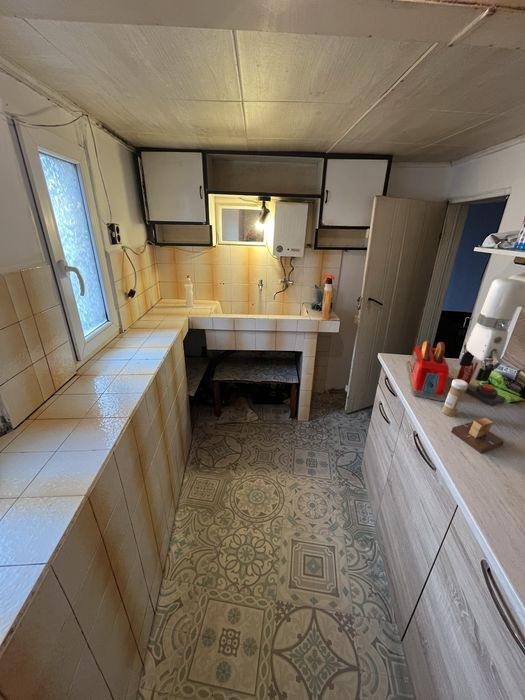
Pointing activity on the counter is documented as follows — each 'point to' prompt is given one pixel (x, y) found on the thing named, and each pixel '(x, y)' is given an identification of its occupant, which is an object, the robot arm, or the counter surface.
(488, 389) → the button
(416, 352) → the toaster
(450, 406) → the sprinkles bottle
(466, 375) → the soda can
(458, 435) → the panel
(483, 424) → the tan rectangular block
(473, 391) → the button box
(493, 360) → the robot arm
